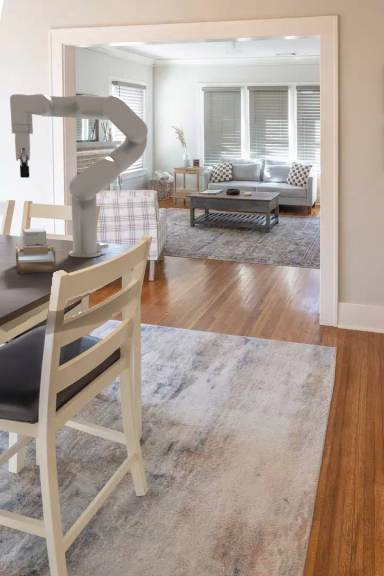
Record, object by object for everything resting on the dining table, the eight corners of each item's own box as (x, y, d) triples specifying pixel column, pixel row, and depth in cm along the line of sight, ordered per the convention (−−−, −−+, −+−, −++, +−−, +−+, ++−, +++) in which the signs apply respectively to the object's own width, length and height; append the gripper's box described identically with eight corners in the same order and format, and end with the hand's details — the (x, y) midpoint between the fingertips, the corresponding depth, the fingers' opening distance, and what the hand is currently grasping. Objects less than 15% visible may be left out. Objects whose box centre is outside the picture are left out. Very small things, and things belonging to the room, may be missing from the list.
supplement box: (26, 268, 199) (24, 231, 196) (24, 263, 206) (22, 228, 202) (48, 266, 201) (46, 231, 198) (45, 262, 208) (44, 227, 205)
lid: (18, 254, 195) (18, 245, 194) (52, 253, 198) (52, 244, 197) (18, 262, 183) (17, 252, 182) (54, 261, 186) (54, 251, 185)
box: (17, 265, 208) (15, 245, 206) (54, 263, 211) (53, 244, 209) (16, 273, 196) (15, 252, 194) (56, 271, 199) (55, 250, 197)
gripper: (12, 129, 219) (14, 175, 224) (11, 129, 203) (14, 178, 208) (32, 129, 222) (34, 175, 226) (33, 129, 205) (35, 178, 210)
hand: (24, 176), depth 217 cm, fingers open, 9 cm apart
